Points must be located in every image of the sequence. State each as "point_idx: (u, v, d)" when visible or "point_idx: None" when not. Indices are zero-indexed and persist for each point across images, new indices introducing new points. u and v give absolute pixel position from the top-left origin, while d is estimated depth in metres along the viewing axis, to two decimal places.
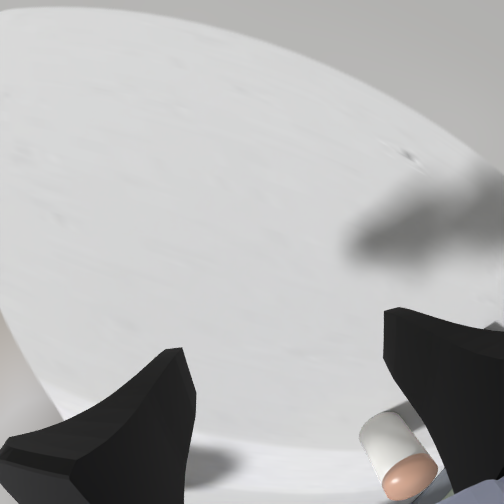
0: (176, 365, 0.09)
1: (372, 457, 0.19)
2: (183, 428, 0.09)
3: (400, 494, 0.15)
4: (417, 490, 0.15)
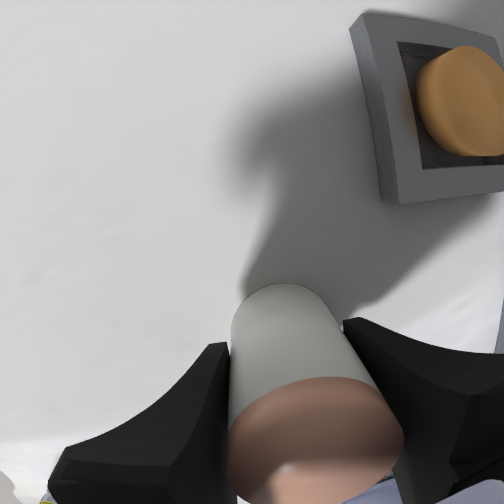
0: (224, 359, 0.09)
1: None
2: None
3: (317, 497, 0.06)
4: (371, 474, 0.06)
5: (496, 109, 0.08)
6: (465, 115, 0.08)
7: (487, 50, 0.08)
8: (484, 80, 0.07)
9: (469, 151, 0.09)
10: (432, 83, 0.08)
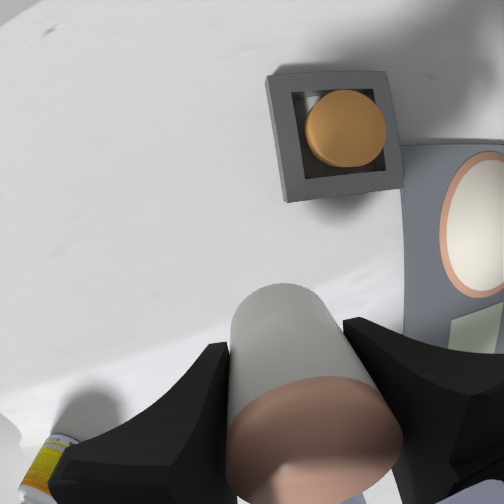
0: (224, 359, 0.09)
1: None
2: None
3: (316, 497, 0.06)
4: (371, 474, 0.06)
5: (361, 133, 0.15)
6: (329, 141, 0.15)
7: (375, 84, 0.15)
8: (351, 114, 0.14)
9: (337, 165, 0.15)
10: (309, 122, 0.15)
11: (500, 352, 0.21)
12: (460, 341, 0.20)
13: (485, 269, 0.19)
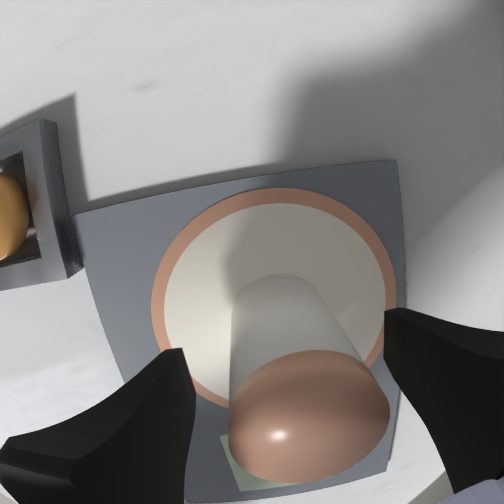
0: (175, 365, 0.09)
1: None
2: (182, 428, 0.09)
3: (312, 468, 0.07)
4: (362, 446, 0.07)
5: None
6: None
7: (25, 142, 0.10)
8: None
9: None
10: None
11: None
12: None
13: None
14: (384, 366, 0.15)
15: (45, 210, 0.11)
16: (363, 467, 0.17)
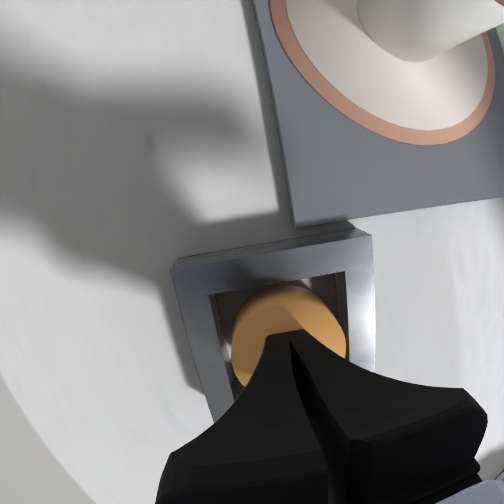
0: (290, 349, 0.09)
1: (476, 35, 0.06)
2: None
3: None
4: None
5: None
6: None
7: (198, 289, 0.11)
8: None
9: None
10: None
11: None
12: None
13: (462, 46, 0.10)
14: None
15: (288, 258, 0.11)
16: None
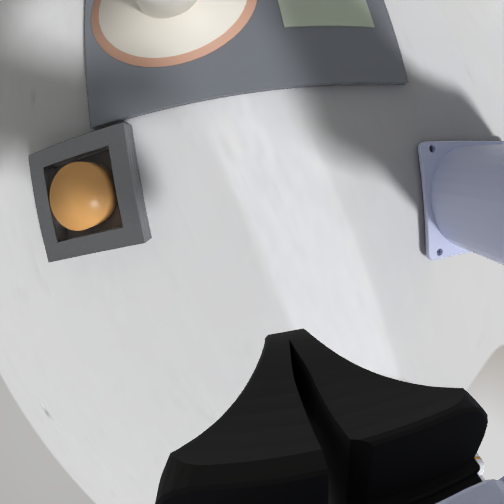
0: (290, 348, 0.09)
1: None
2: None
3: None
4: None
5: (79, 186, 0.16)
6: (89, 214, 0.16)
7: (39, 164, 0.16)
8: (66, 196, 0.16)
9: (109, 201, 0.17)
10: None
11: None
12: (316, 9, 0.15)
13: None
14: None
15: (78, 141, 0.16)
16: None
